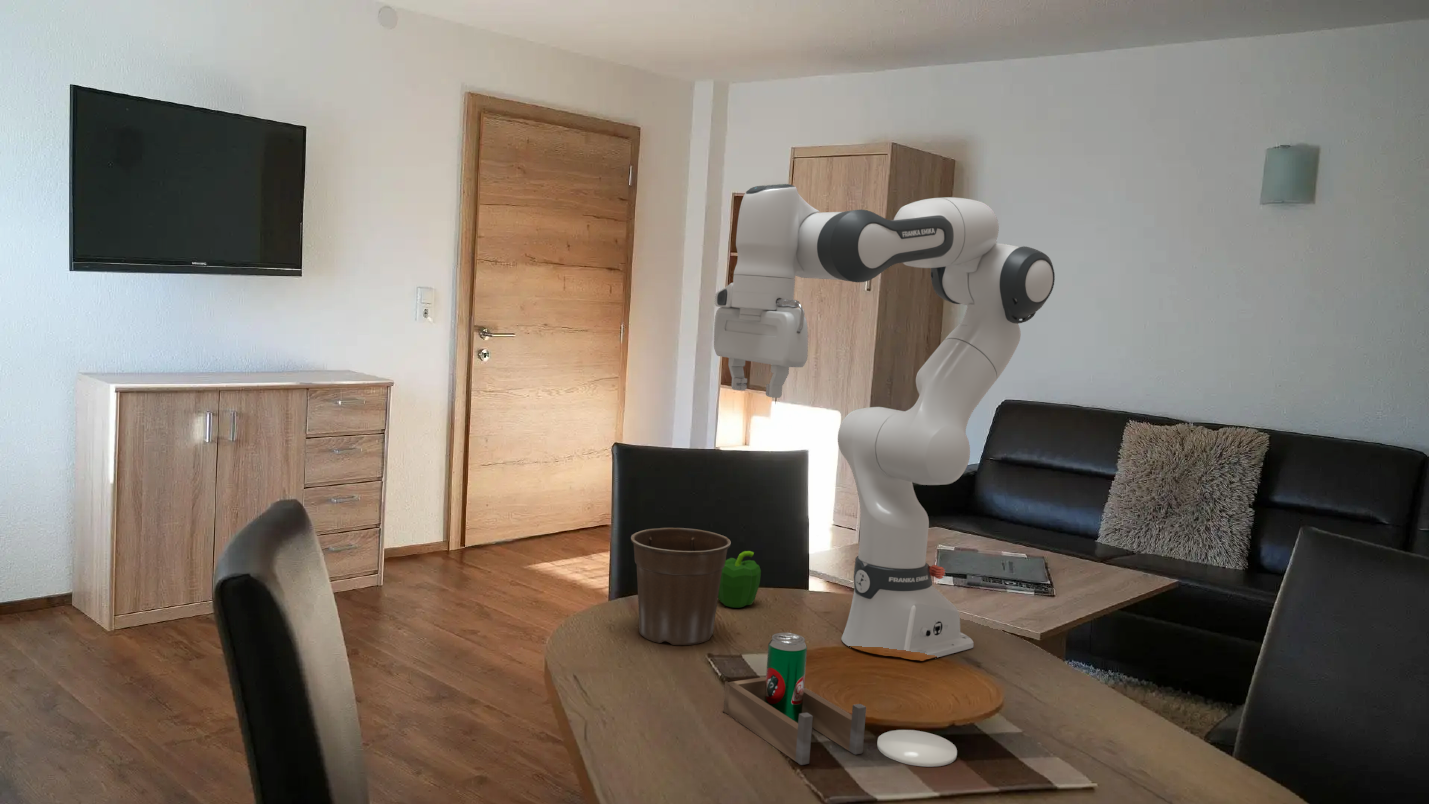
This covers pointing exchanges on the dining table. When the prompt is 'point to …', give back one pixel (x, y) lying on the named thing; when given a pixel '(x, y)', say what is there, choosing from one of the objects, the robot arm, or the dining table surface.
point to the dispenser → (786, 733)
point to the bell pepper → (739, 581)
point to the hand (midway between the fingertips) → (755, 393)
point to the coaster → (917, 748)
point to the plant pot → (678, 583)
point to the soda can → (786, 674)
